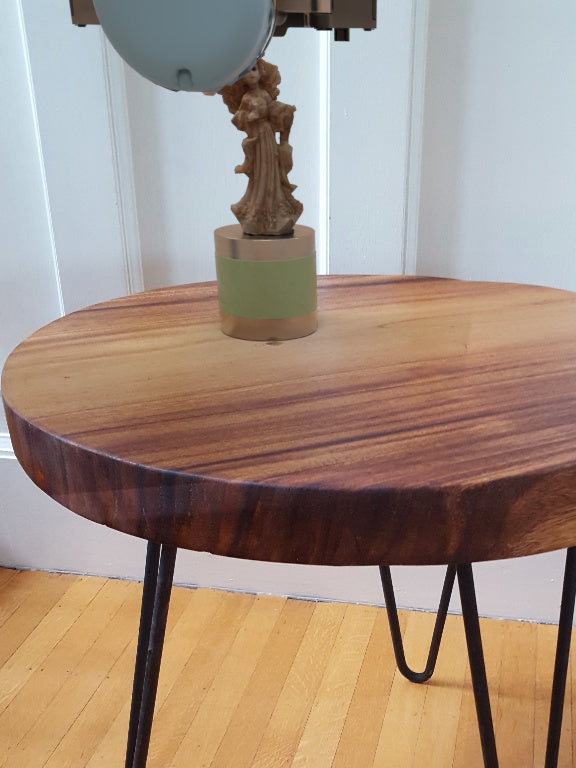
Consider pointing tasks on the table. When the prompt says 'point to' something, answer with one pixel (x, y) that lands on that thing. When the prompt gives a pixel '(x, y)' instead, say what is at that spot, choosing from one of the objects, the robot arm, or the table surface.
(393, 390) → the table surface
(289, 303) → the tin can
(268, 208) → the figurine
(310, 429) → the table surface
